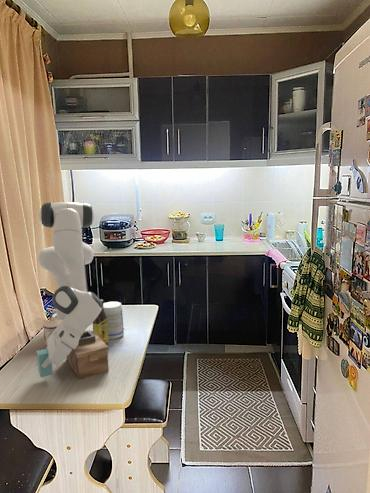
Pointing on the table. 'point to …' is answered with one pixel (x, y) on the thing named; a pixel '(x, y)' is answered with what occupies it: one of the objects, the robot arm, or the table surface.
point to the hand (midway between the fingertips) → (42, 362)
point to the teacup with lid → (50, 327)
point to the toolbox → (89, 356)
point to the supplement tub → (114, 319)
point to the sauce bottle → (101, 326)
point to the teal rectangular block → (41, 357)
